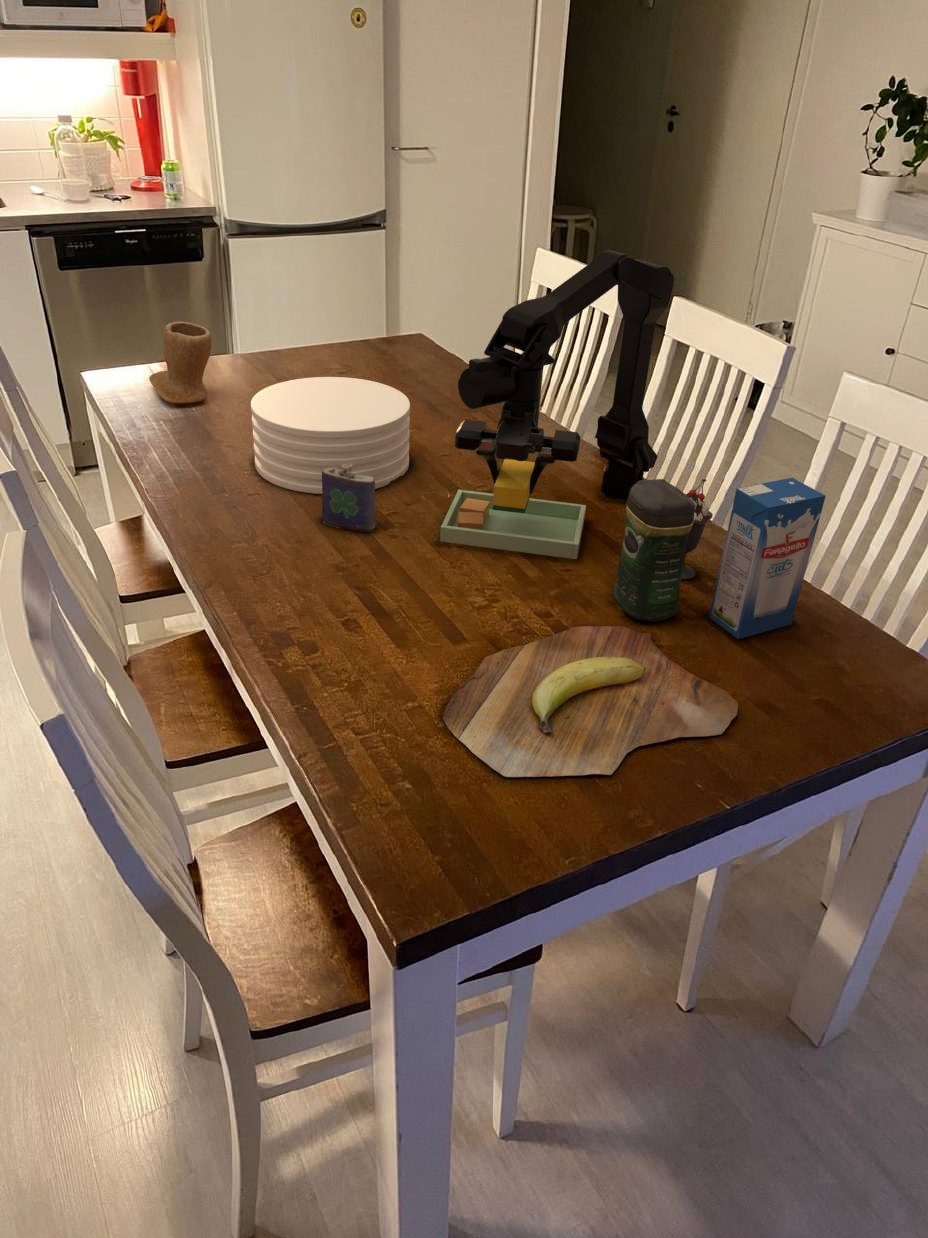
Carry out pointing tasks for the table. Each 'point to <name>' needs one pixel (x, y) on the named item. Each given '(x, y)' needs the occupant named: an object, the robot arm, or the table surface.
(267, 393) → the plate stack
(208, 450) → the table surface
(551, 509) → the tray
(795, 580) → the milk carton
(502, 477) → the sponge
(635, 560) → the coffee jar
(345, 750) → the table surface
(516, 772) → the cutting board
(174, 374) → the brown boot
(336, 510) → the flask
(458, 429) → the robot arm
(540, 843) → the table surface
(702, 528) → the sundae
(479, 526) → the block
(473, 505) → the block
